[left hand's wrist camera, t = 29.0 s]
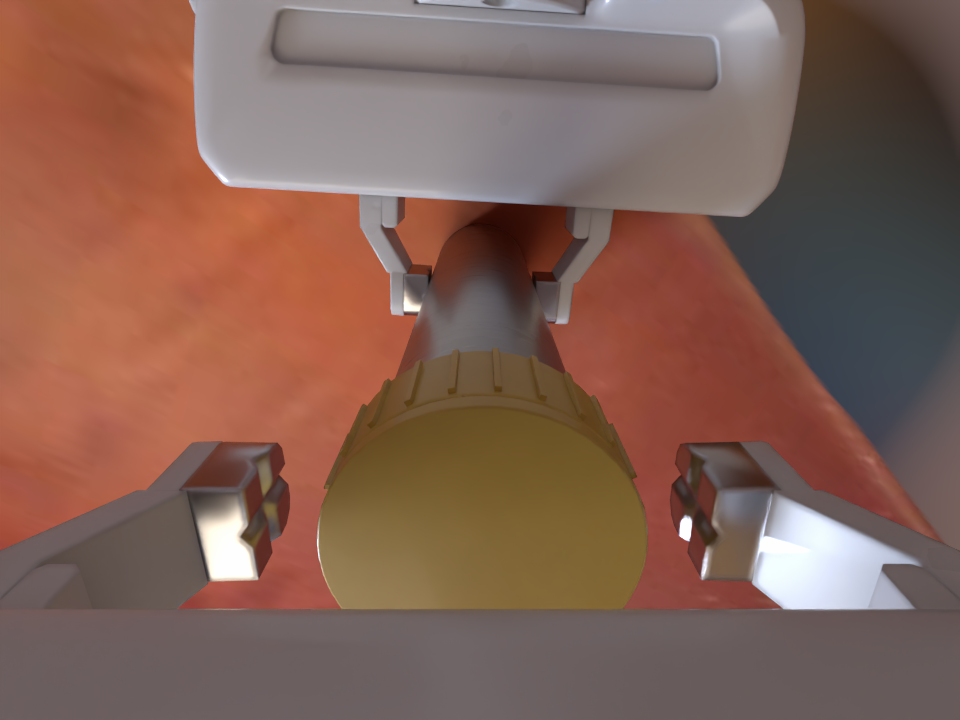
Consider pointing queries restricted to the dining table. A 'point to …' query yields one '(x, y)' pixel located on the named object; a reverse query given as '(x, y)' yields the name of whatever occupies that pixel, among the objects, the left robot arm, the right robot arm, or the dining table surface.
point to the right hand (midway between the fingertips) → (480, 316)
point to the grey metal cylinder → (481, 302)
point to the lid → (482, 494)
